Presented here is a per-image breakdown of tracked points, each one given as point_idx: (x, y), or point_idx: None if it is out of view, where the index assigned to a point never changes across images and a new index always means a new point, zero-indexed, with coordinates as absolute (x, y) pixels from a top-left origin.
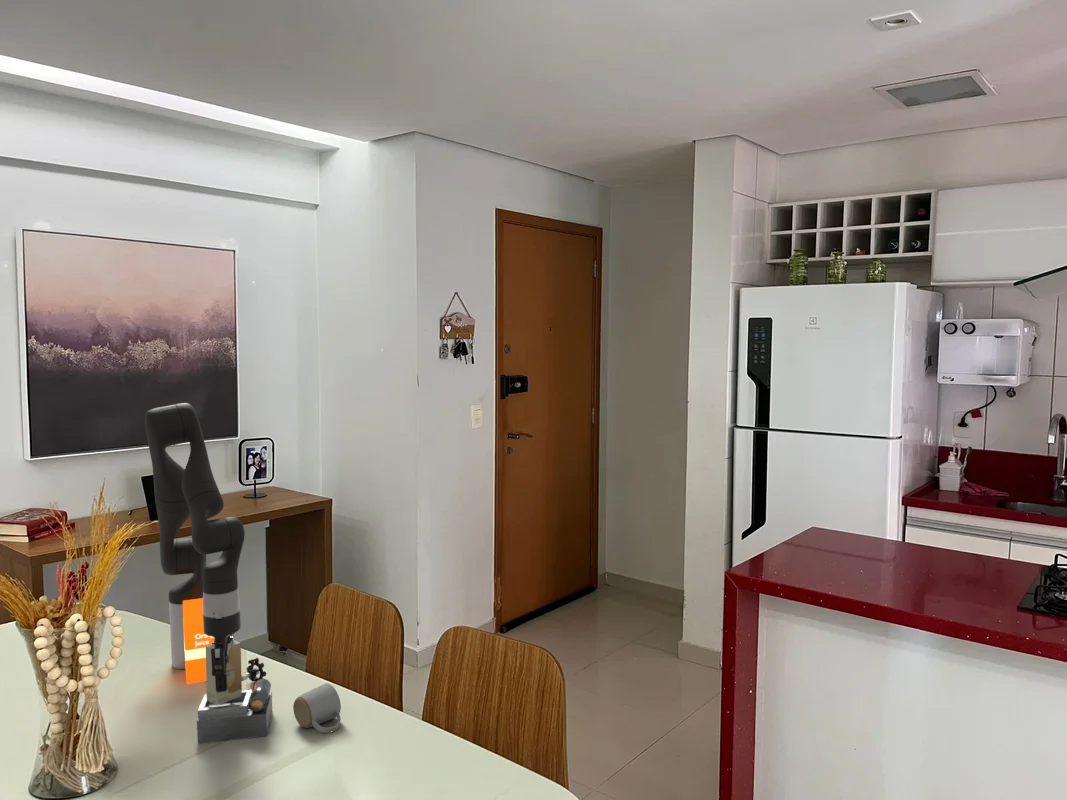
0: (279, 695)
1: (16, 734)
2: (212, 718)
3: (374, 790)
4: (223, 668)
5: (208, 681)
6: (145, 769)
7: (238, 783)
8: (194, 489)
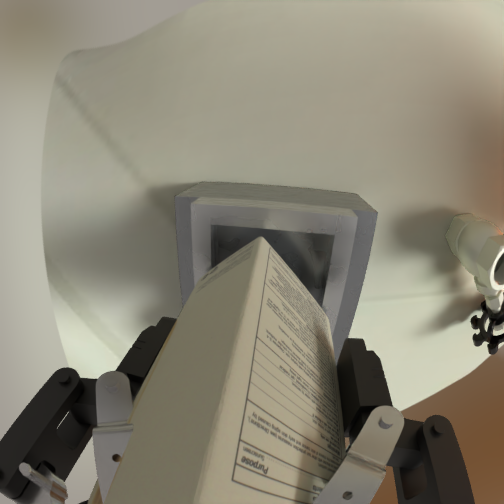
0: (406, 353)
1: None
2: (181, 248)
3: None
4: (64, 428)
5: (222, 300)
6: (107, 87)
7: (61, 279)
8: None
